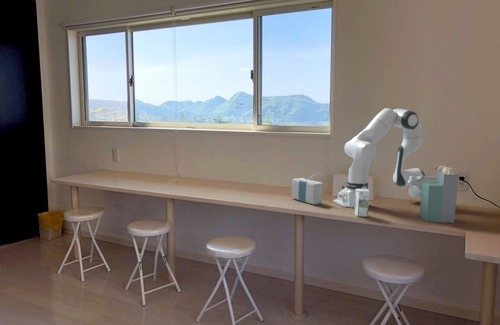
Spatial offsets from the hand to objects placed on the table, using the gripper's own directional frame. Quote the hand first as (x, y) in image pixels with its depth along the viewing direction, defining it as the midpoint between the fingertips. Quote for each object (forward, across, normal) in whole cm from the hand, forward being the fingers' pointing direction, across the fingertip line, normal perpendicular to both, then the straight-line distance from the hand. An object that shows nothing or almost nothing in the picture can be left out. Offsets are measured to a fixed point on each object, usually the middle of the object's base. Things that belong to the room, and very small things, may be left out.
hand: (431, 176), depth 230 cm
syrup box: (+6, -42, +27) cm, 50 cm away
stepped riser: (+8, -3, +28) cm, 29 cm away
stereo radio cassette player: (-20, -69, +12) cm, 73 cm away
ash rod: (+17, 0, +4) cm, 18 cm away
